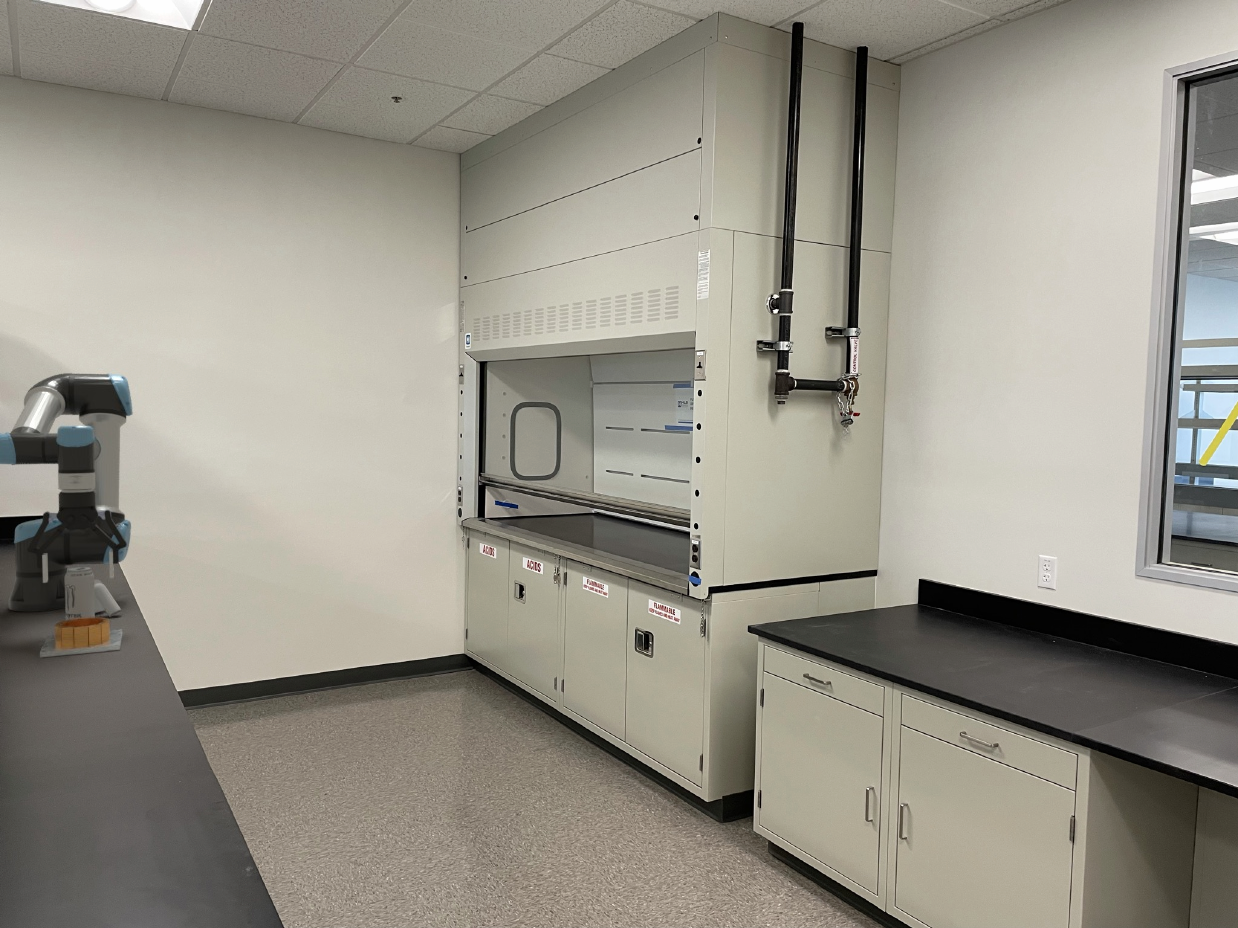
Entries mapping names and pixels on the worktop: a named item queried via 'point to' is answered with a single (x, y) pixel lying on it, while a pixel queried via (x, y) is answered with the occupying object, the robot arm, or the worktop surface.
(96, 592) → the wall hook
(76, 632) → the keeper
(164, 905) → the worktop surface
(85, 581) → the energy drink can
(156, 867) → the worktop surface
